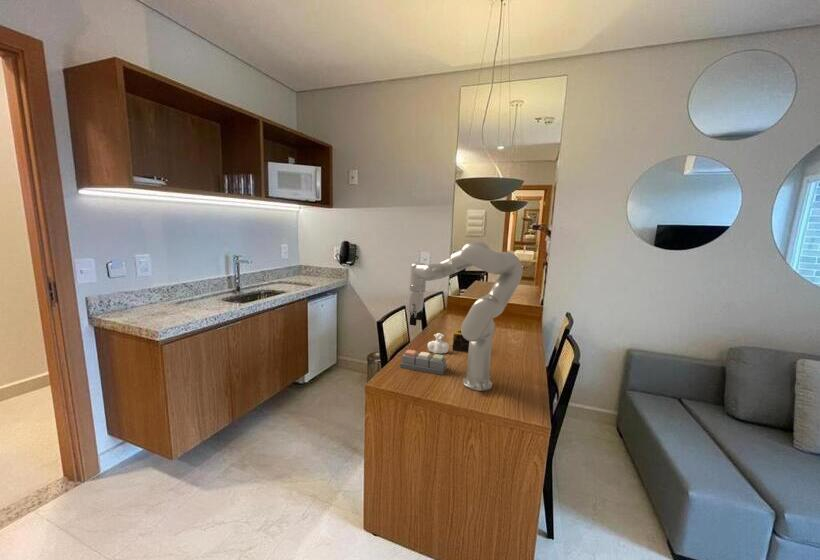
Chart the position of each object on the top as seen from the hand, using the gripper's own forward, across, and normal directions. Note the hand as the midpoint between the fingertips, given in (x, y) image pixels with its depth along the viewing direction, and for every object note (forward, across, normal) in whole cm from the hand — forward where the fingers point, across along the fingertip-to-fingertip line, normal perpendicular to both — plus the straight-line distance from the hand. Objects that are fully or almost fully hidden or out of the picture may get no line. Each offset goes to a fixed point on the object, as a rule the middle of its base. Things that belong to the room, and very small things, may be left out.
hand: (415, 322), depth 164 cm
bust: (+22, -21, +7) cm, 31 cm away
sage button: (+17, +3, +13) cm, 22 cm away
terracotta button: (+17, +3, -1) cm, 18 cm away
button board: (+21, +3, +6) cm, 22 cm away
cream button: (+17, +3, +6) cm, 19 cm away
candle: (+22, -31, +19) cm, 42 cm away
